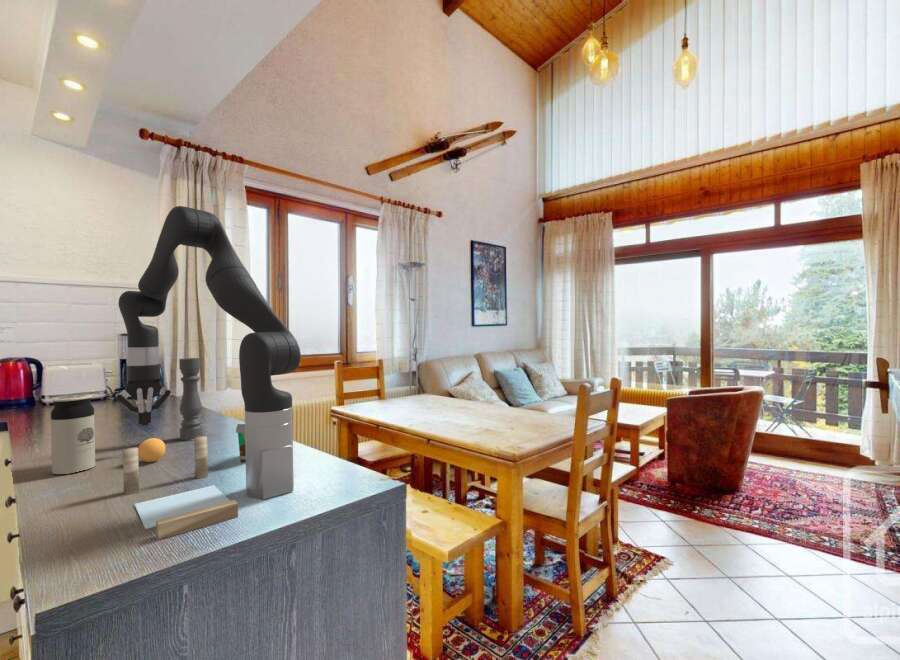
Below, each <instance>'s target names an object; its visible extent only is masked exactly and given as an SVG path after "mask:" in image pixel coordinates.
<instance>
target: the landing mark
mask: <svg viewBox="0 0 900 660" xmlns="http://www.w3.org/2000/svg"><path fill="white" fill-rule="evenodd" d="M228 501H231V500H230V499H229V498H228V497H227V496H226V495H225V494H224V493H223V492H222V491H221V490H220V489H219V488H218V487H217V486H216V485H215V484H213V485H209V486H205V487H201V488H196V489H193V490H188V491H184V492H180V493H176V494H175V493H174V494H171V495H168V496H163V497H159V498H155V499H154V498H153V499H150V500H146V501H142V502H136V503H134V507H135V509H136V512H137V513H138V516H139V518H140V521H141V522H142V525H143V527H144V530H149V529H152V528H156V521H157V520H160V519H164V518H168V517H172V516H175V515H179V514H183V513H187V512H190V511H194V510H198V509H202V508H206V507H209V506H213V505H217V504H221V503H224V502H228Z"/></svg>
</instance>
